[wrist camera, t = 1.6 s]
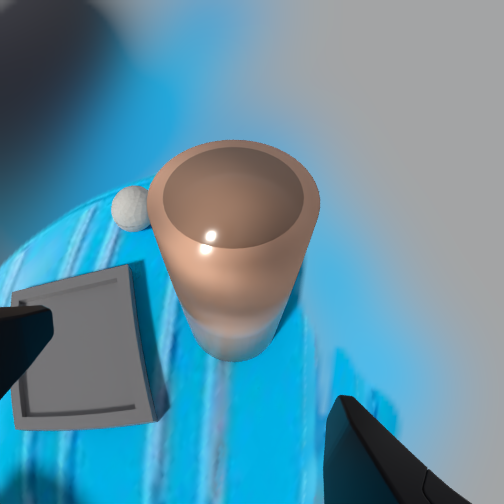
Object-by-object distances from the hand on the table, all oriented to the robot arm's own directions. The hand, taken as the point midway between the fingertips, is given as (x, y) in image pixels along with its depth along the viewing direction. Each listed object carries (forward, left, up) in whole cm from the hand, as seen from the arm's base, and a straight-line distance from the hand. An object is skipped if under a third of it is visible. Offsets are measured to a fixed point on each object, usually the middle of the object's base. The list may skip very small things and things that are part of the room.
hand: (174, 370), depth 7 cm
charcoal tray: (+5, +10, -12) cm, 17 cm away
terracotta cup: (+5, -3, -12) cm, 14 cm away
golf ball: (+16, +3, -13) cm, 21 cm away
